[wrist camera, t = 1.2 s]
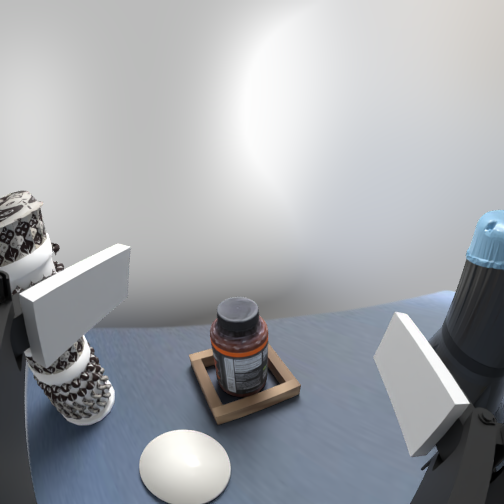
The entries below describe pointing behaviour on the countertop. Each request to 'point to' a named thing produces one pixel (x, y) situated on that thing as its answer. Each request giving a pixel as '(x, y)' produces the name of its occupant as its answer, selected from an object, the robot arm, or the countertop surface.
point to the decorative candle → (27, 273)
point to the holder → (251, 403)
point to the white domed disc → (185, 467)
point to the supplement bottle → (240, 347)
